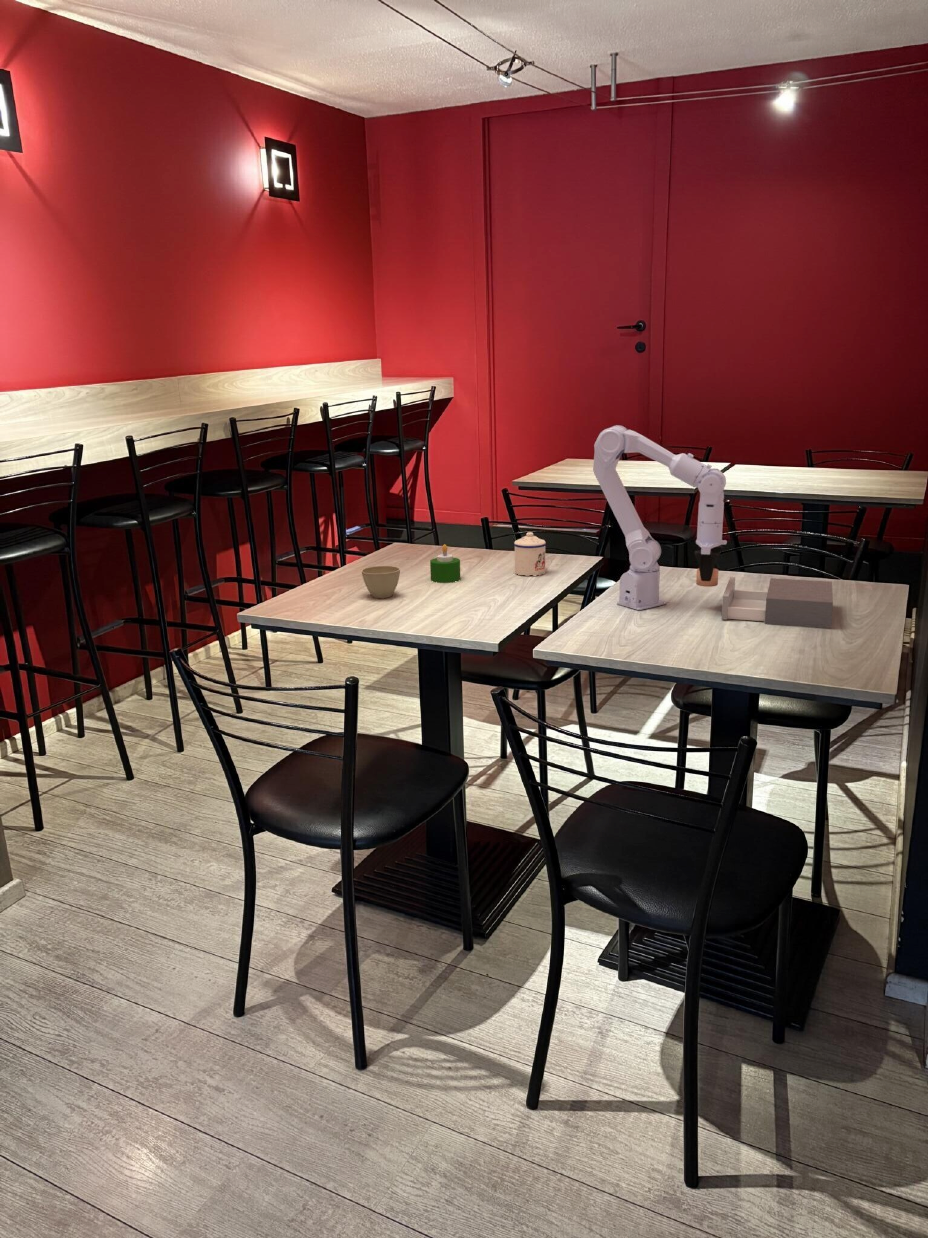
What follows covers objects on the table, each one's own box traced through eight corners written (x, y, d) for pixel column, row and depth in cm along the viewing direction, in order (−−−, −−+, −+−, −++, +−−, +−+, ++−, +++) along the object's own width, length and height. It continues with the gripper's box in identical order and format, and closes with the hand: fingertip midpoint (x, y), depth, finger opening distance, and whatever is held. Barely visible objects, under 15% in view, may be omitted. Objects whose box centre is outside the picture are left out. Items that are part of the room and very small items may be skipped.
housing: (829, 605, 226) (832, 581, 224) (830, 628, 208) (832, 602, 206) (769, 601, 231) (770, 578, 229) (764, 623, 213) (766, 598, 211)
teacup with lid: (540, 577, 260) (540, 536, 257) (509, 575, 264) (509, 534, 260) (552, 568, 271) (552, 528, 268) (522, 566, 274) (522, 527, 271)
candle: (426, 582, 258) (425, 546, 256) (436, 575, 266) (435, 540, 263) (455, 583, 256) (454, 547, 253) (464, 576, 264) (463, 541, 261)
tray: (779, 602, 230) (781, 579, 228) (776, 623, 212) (777, 599, 210) (729, 598, 234) (730, 576, 232) (721, 619, 216) (722, 596, 214)
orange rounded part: (707, 587, 221) (708, 573, 220) (691, 583, 225) (692, 569, 224) (722, 584, 224) (723, 570, 223) (706, 580, 228) (706, 566, 227)
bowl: (404, 591, 249) (402, 565, 247) (397, 601, 240) (396, 573, 238) (367, 591, 250) (365, 565, 248) (359, 600, 241) (357, 573, 239)
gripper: (724, 528, 213) (721, 586, 216) (730, 517, 226) (727, 572, 229) (693, 526, 215) (690, 584, 219) (700, 516, 228) (697, 570, 232)
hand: (707, 578), depth 224 cm, fingers closed on orange rounded part, 5 cm apart
